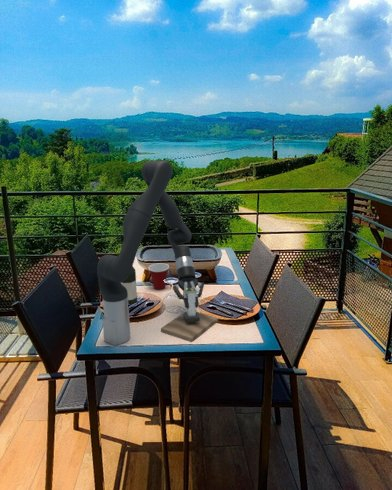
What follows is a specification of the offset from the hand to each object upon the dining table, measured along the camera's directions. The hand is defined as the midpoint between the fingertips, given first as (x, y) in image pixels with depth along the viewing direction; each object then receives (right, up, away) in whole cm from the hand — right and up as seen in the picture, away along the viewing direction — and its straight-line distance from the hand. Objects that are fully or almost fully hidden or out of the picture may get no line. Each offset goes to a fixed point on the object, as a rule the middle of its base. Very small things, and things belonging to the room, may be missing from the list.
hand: (192, 307), depth 146 cm
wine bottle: (-30, -3, +24) cm, 39 cm away
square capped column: (0, -5, +4) cm, 6 cm away
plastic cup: (-18, +2, +44) cm, 47 cm away
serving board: (-1, -8, +3) cm, 9 cm away
